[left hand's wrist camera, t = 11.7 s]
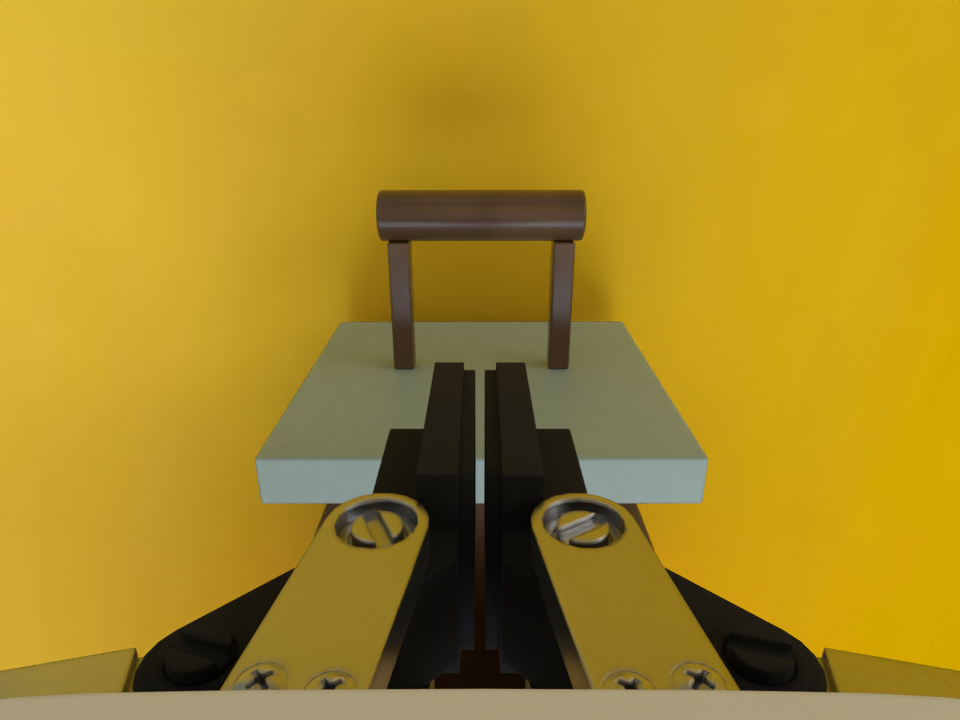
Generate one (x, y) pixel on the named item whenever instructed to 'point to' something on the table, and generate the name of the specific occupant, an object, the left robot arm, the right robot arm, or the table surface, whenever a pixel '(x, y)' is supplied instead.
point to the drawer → (482, 384)
